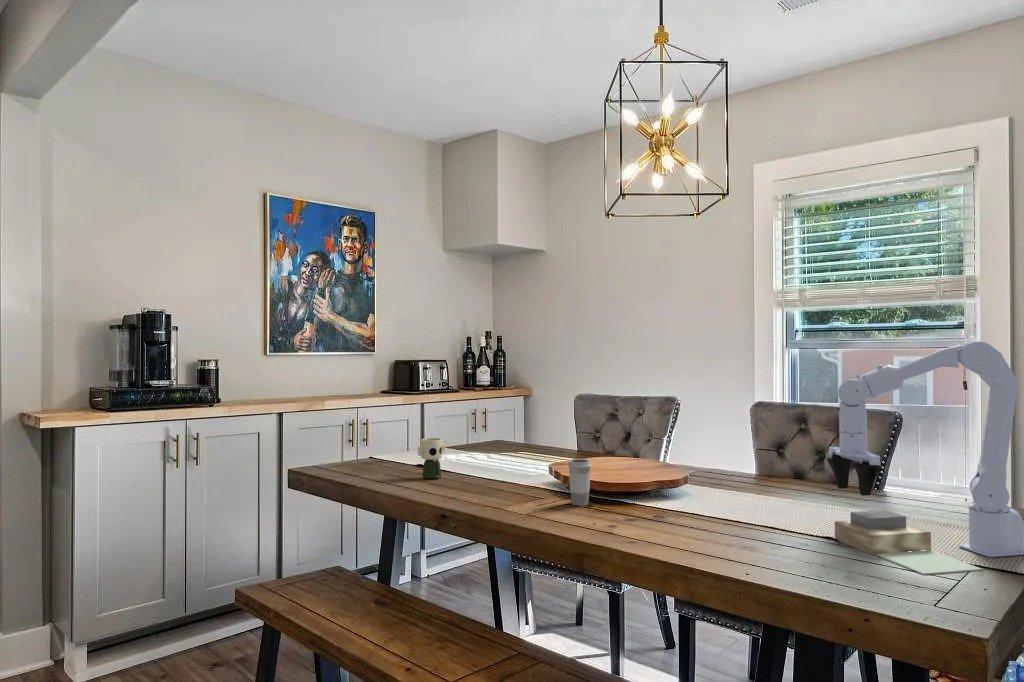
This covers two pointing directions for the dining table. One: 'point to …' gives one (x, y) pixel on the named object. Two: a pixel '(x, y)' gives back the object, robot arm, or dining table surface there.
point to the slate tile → (878, 519)
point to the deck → (883, 538)
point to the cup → (579, 481)
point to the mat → (928, 562)
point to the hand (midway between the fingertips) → (853, 491)
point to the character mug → (431, 456)
